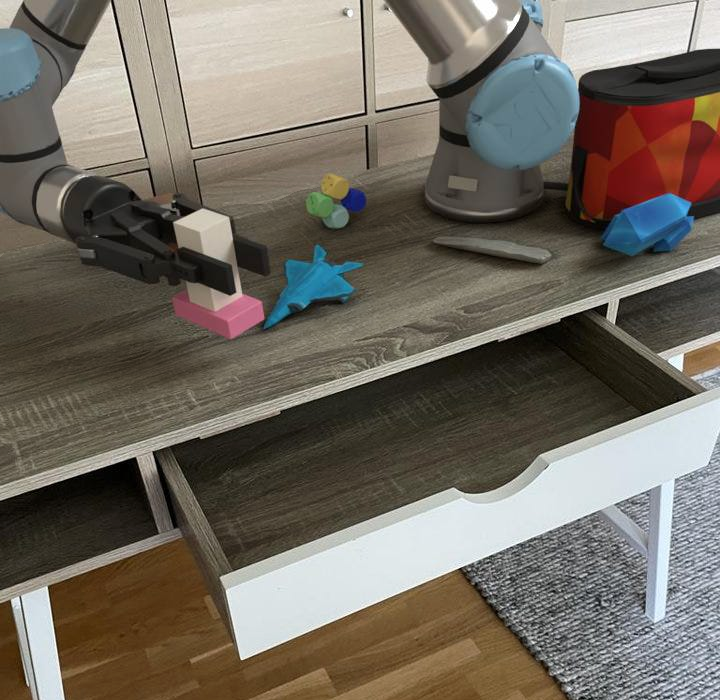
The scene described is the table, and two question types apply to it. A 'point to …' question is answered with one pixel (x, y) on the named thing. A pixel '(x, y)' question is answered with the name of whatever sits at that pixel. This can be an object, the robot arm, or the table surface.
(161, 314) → the table surface
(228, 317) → the block on pink pedestal
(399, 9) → the robot arm
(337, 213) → the dice
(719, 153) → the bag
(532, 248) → the stone tool
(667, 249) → the crystal
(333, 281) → the toy airplane
